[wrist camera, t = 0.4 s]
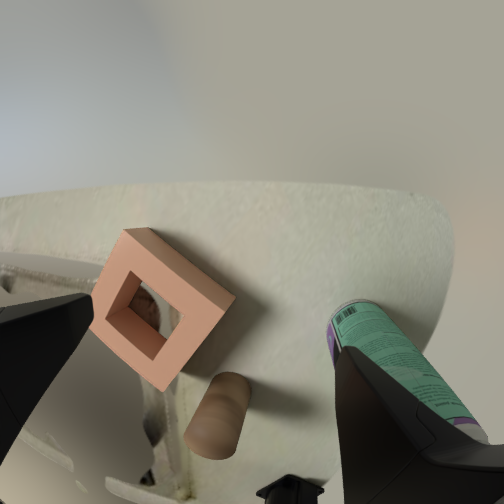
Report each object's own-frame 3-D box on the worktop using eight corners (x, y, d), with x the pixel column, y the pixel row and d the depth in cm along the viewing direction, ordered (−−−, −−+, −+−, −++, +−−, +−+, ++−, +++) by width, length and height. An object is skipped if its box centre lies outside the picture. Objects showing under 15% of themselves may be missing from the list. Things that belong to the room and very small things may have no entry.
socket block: (178, 371, 25) (162, 392, 22) (104, 307, 26) (80, 319, 22) (236, 297, 24) (225, 312, 20) (147, 227, 24) (123, 229, 20)
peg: (236, 410, 25) (217, 465, 17) (203, 389, 25) (174, 440, 18) (259, 387, 25) (246, 444, 17) (225, 364, 25) (200, 416, 17)
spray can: (316, 347, 23) (337, 576, 4) (340, 290, 22) (457, 500, 3) (369, 363, 23) (446, 555, 3) (395, 309, 22) (543, 471, 2)
